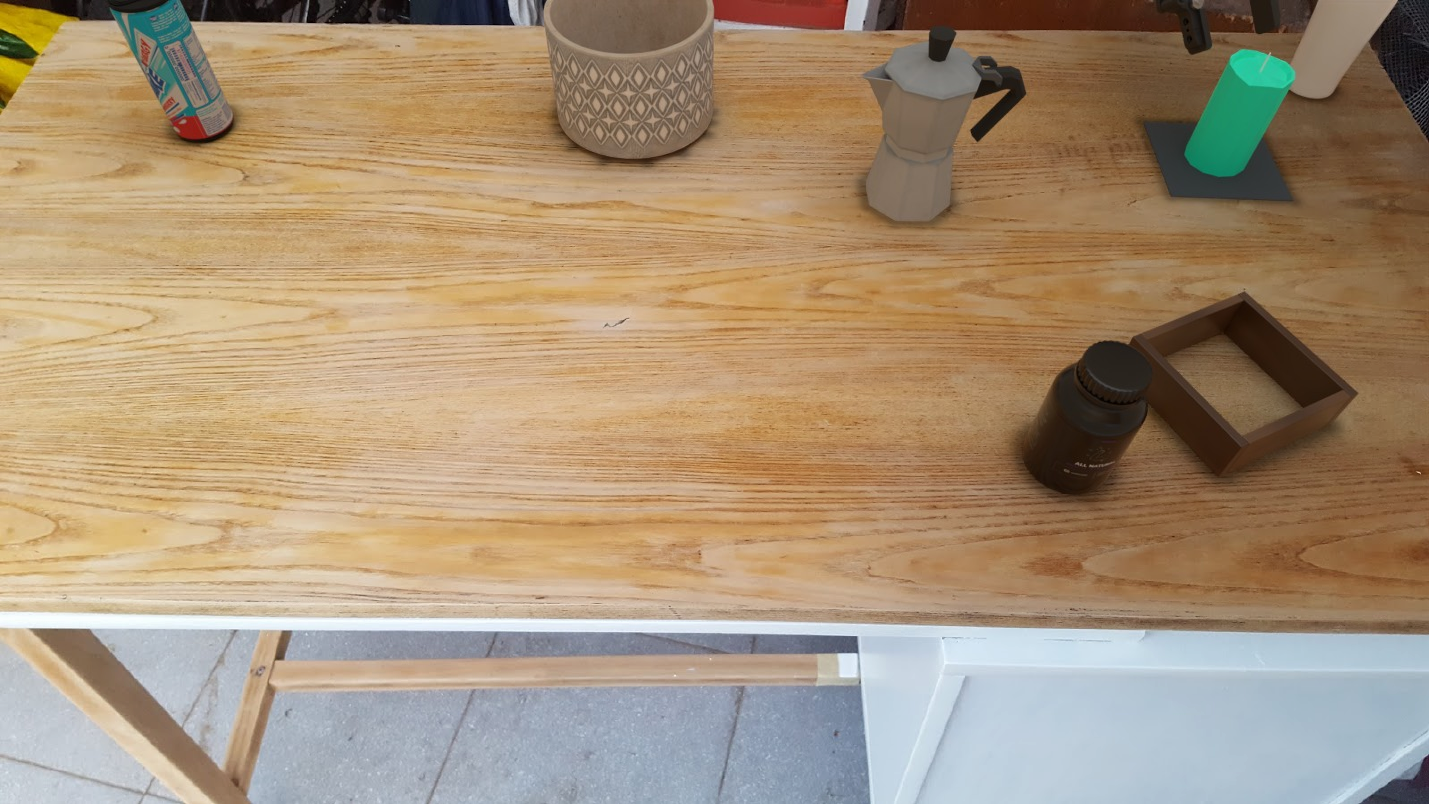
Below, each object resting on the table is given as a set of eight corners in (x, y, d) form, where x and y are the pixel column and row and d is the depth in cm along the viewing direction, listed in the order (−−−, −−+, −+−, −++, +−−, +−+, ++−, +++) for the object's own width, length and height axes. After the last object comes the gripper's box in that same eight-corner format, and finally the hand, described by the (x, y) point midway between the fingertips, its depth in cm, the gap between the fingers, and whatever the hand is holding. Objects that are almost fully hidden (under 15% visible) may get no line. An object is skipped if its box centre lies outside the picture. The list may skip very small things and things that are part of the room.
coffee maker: (846, 228, 91) (873, 61, 77) (838, 169, 96) (861, 3, 82) (1000, 227, 91) (1056, 61, 77) (983, 169, 97) (1032, 3, 82)
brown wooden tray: (1221, 327, 84) (1244, 290, 80) (1328, 427, 77) (1359, 393, 74) (1113, 372, 81) (1132, 336, 77) (1215, 480, 74) (1241, 447, 70)
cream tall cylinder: (1277, 101, 104) (1351, -31, 92) (1270, 66, 108) (1340, -65, 96) (1342, 110, 103) (1425, -22, 91) (1333, 75, 107) (1411, -56, 95)
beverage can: (182, 112, 101) (112, -23, 89) (239, 108, 102) (178, -27, 90) (172, 147, 98) (97, 12, 86) (231, 142, 98) (166, 6, 86)
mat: (1254, 130, 101) (1257, 125, 100) (1291, 205, 94) (1294, 200, 93) (1141, 126, 101) (1143, 121, 101) (1168, 200, 94) (1171, 195, 93)
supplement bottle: (1072, 514, 72) (1128, 421, 62) (1002, 456, 75) (1045, 359, 66) (1126, 467, 75) (1188, 370, 65) (1056, 413, 78) (1106, 313, 68)
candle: (1171, 147, 98) (1222, 41, 89) (1219, 134, 99) (1274, 29, 90) (1209, 182, 95) (1266, 77, 85) (1257, 169, 96) (1319, 64, 87)
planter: (729, 87, 105) (731, -24, 95) (690, 181, 95) (688, 69, 85) (588, 64, 107) (576, -46, 97) (536, 154, 97) (517, 42, 87)
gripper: (1173, -140, 82) (1210, 48, 85) (1294, -169, 86) (1326, 13, 89) (1111, -104, 89) (1147, 69, 92) (1226, -132, 93) (1257, 35, 96)
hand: (1235, 41), depth 90 cm, fingers open, 8 cm apart
